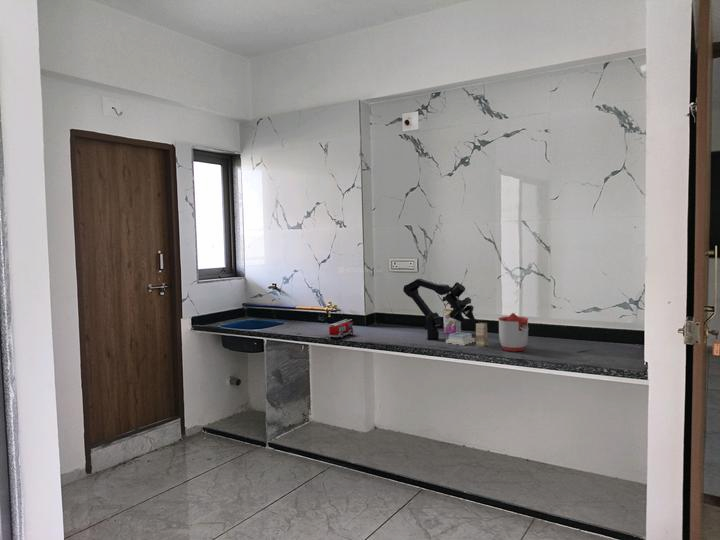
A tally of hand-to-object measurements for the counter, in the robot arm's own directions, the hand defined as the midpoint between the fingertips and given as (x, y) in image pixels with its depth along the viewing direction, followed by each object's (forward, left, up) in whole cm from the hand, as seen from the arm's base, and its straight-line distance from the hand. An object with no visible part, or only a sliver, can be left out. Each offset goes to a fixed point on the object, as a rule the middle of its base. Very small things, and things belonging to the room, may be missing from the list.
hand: (470, 322), depth 316 cm
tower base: (-5, +5, -12) cm, 14 cm away
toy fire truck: (-74, +39, -13) cm, 85 cm away
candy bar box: (-4, +32, -13) cm, 35 cm away
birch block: (+5, -5, -12) cm, 14 cm away
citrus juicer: (+19, -20, -13) cm, 30 cm away
